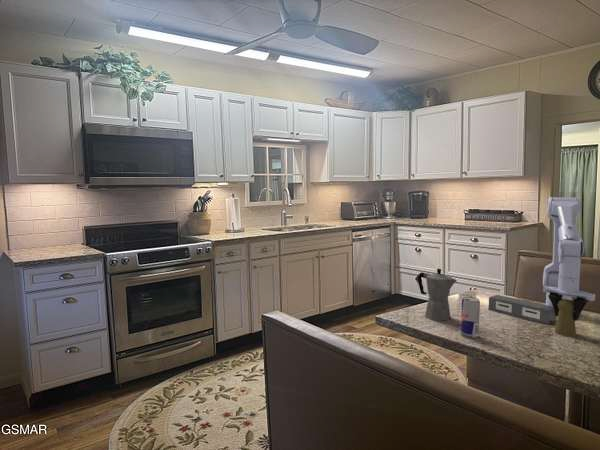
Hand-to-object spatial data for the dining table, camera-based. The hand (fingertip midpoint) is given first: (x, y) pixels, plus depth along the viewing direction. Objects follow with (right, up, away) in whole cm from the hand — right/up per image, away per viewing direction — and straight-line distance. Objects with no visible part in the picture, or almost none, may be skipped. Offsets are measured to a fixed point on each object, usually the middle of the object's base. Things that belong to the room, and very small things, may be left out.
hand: (566, 317), depth 136 cm
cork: (0, -5, 0) cm, 5 cm away
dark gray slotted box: (-5, -3, +19) cm, 20 cm away
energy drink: (-33, -5, -2) cm, 33 cm away
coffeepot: (-37, -4, +18) cm, 42 cm away
